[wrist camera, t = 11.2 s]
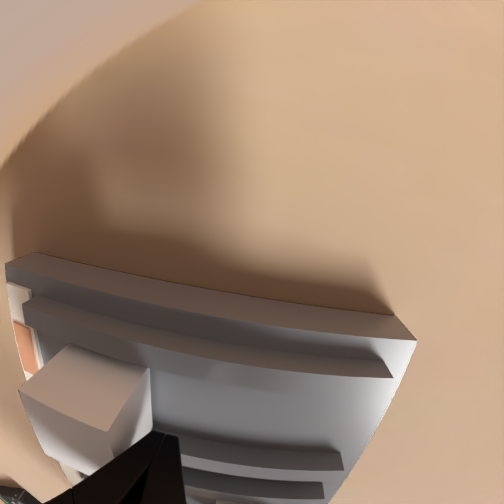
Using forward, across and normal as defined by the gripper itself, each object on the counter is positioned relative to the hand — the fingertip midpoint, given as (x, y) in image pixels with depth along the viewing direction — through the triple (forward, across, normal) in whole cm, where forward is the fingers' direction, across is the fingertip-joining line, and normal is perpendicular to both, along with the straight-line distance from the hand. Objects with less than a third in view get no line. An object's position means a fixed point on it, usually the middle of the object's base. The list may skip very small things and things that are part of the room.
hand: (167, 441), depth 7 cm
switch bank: (+4, 0, +7) cm, 8 cm away
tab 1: (+2, +3, 0) cm, 3 cm away
